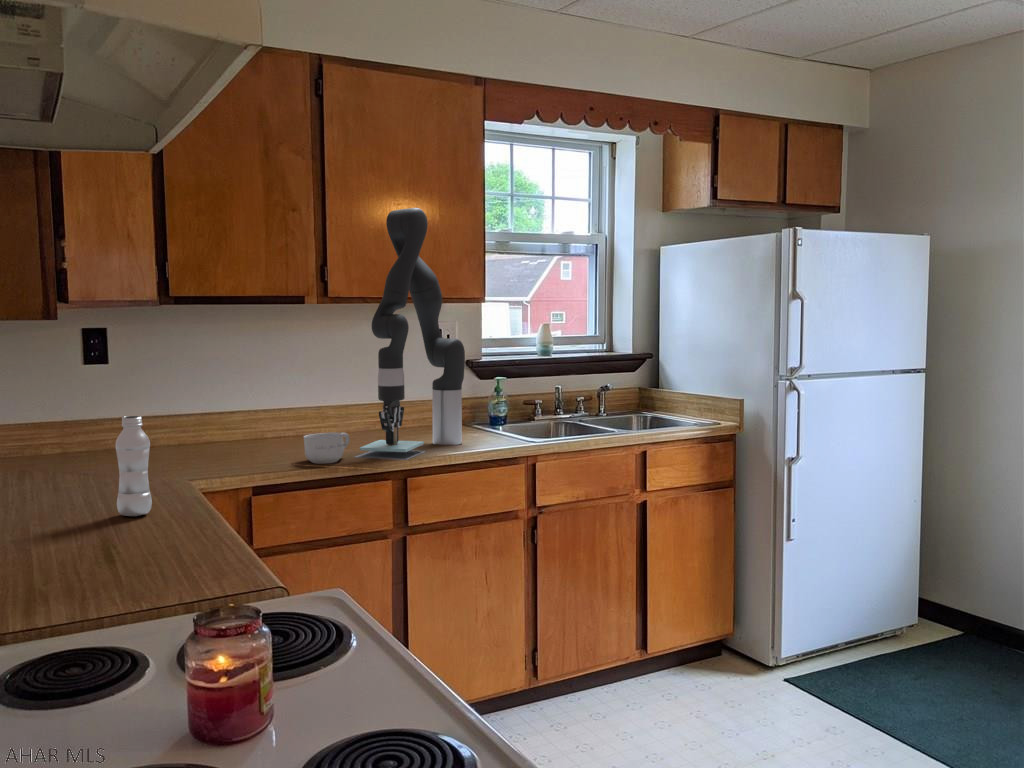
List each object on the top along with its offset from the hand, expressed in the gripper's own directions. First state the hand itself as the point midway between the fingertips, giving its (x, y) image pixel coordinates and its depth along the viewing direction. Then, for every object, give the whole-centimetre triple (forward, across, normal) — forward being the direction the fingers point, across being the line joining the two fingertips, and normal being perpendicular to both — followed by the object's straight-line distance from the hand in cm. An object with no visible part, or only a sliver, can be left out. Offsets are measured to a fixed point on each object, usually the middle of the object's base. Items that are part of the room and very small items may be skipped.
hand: (392, 442), depth 245 cm
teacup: (+4, -15, +12) cm, 20 cm away
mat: (+4, 0, 0) cm, 4 cm away
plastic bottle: (+2, -83, +21) cm, 86 cm away
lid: (+1, 0, 0) cm, 1 cm away
